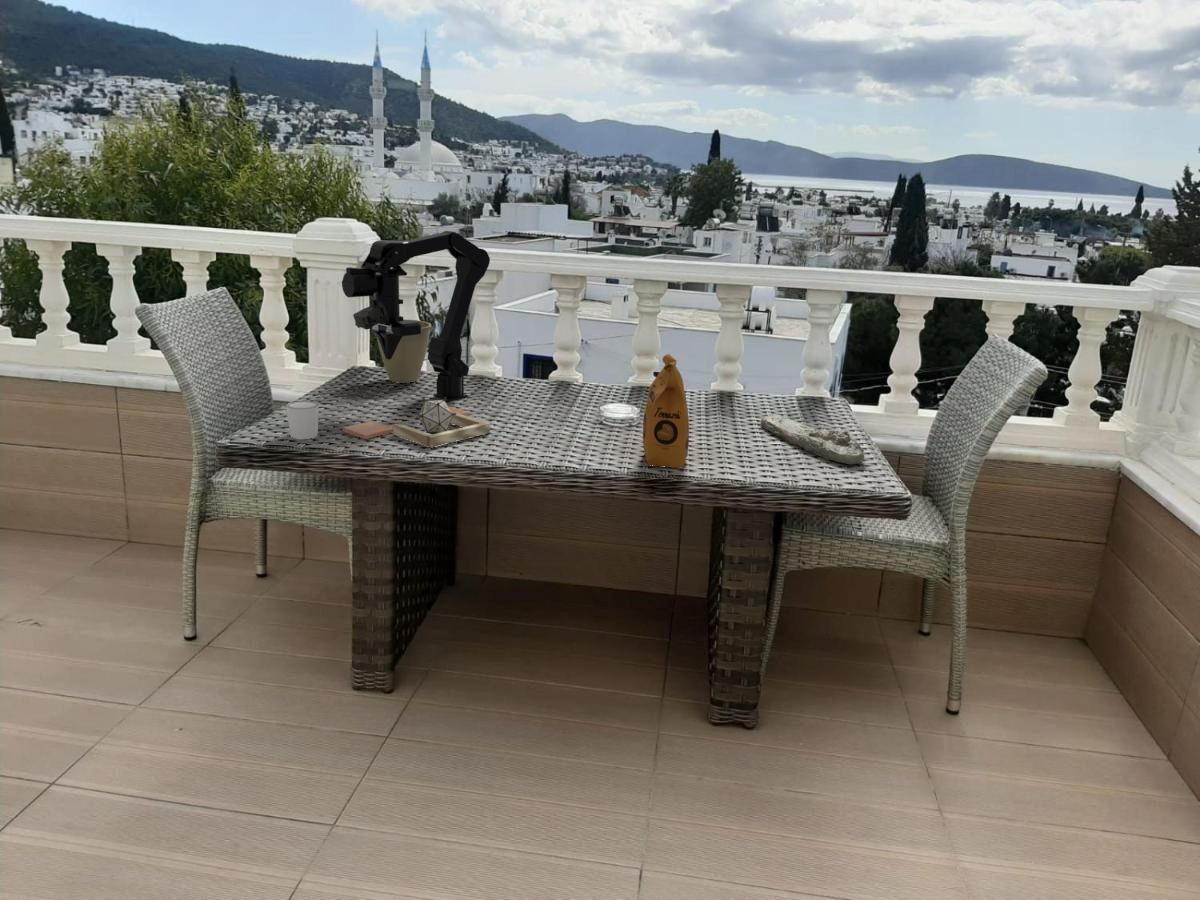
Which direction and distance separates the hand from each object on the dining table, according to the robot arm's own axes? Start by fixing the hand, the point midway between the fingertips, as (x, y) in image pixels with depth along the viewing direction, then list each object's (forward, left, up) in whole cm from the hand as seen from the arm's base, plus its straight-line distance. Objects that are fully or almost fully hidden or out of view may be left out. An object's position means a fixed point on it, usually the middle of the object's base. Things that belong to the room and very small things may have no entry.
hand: (388, 359), depth 219 cm
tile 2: (-5, +15, -12) cm, 20 cm away
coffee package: (-17, +72, -12) cm, 75 cm away
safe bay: (+6, +27, -12) cm, 30 cm away
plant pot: (-20, -20, -12) cm, 31 cm away
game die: (+6, +25, -12) cm, 28 cm away
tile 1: (+17, +15, -12) cm, 26 cm away
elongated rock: (-53, +88, -13) cm, 103 cm away
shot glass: (+29, +8, -12) cm, 33 cm away
